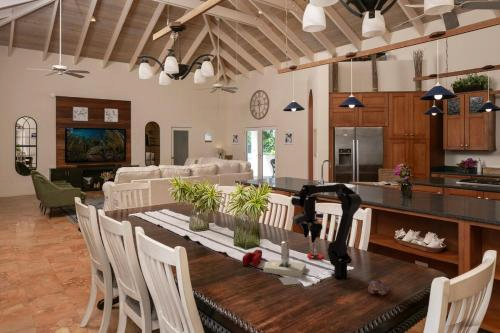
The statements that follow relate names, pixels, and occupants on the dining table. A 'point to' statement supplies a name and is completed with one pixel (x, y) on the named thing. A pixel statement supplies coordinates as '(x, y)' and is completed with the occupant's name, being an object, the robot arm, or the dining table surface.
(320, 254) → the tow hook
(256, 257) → the mechanical linkage
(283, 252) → the steel pin
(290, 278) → the pad
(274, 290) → the dining table surface
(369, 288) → the skull
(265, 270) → the hole board
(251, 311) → the dining table surface
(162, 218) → the dining table surface
